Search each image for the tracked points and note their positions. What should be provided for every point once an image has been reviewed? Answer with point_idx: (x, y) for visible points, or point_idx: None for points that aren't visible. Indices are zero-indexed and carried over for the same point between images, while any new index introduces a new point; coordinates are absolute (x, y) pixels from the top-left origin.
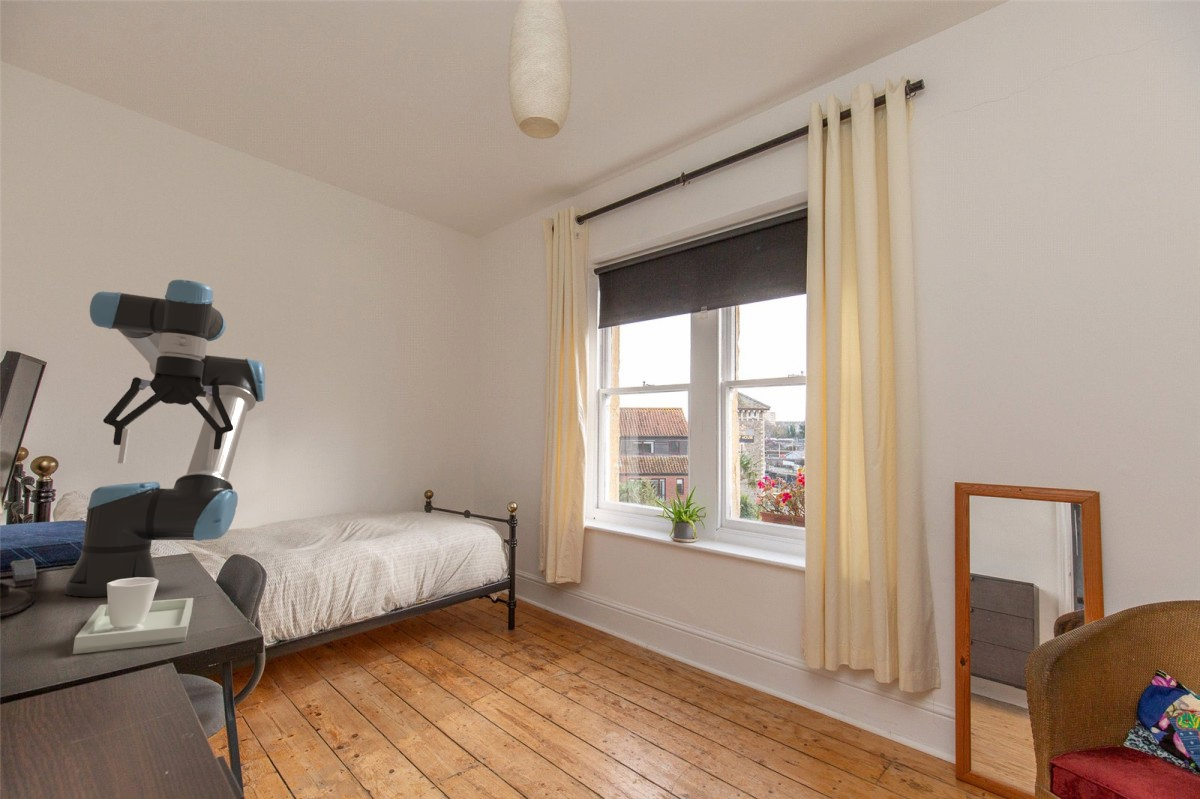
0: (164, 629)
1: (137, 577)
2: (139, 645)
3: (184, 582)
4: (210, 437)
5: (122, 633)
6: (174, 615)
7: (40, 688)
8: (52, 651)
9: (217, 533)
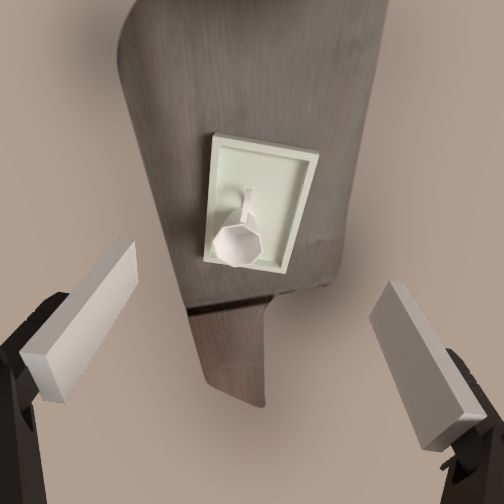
0: (267, 270)
1: (242, 225)
2: None
3: None
4: (413, 426)
5: None
6: (290, 187)
7: (198, 306)
8: (190, 236)
9: None
